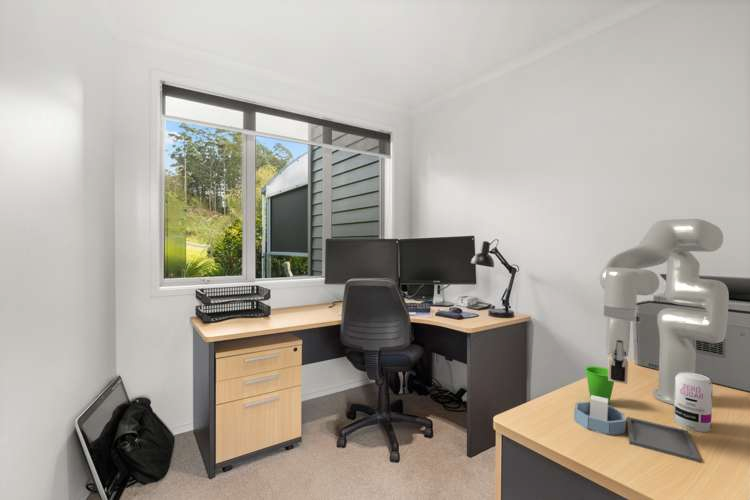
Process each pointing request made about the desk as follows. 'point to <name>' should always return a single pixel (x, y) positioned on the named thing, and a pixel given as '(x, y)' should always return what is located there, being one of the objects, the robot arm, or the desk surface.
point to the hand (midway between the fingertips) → (617, 377)
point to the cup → (599, 382)
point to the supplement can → (693, 401)
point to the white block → (599, 407)
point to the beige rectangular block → (610, 370)
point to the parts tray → (661, 439)
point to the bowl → (609, 427)
